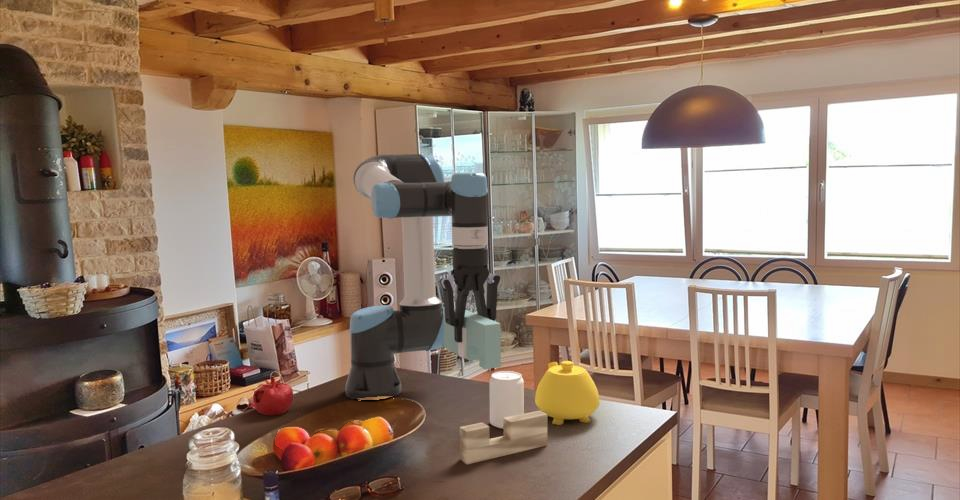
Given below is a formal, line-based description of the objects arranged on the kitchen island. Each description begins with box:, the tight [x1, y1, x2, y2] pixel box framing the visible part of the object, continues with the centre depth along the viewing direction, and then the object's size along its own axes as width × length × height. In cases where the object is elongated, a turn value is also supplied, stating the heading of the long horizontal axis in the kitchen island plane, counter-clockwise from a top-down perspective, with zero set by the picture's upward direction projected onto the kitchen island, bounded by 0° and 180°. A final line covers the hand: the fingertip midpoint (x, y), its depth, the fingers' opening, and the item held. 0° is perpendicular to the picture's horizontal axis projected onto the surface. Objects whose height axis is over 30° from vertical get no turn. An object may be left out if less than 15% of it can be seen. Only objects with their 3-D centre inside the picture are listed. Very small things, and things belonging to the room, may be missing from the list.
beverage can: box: [488, 370, 525, 429], centre depth 164 cm, size 8×8×12 cm
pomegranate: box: [252, 375, 295, 416], centre depth 176 cm, size 10×10×9 cm
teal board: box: [443, 306, 502, 370], centre depth 148 cm, size 20×4×9 cm, turn 27°
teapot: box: [534, 360, 600, 426], centre depth 171 cm, size 20×16×14 cm
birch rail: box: [459, 409, 548, 465], centre depth 148 cm, size 3×20×7 cm, turn 119°
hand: (471, 355), depth 148 cm, fingers closed on teal board, 3 cm apart
